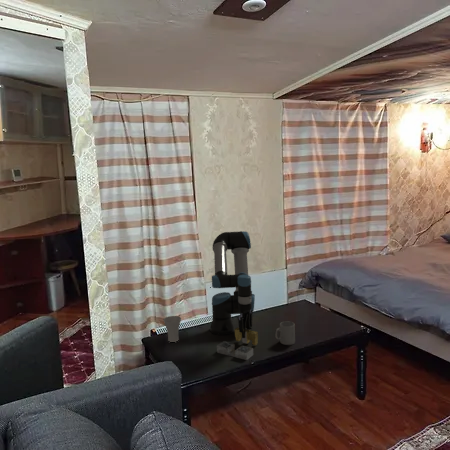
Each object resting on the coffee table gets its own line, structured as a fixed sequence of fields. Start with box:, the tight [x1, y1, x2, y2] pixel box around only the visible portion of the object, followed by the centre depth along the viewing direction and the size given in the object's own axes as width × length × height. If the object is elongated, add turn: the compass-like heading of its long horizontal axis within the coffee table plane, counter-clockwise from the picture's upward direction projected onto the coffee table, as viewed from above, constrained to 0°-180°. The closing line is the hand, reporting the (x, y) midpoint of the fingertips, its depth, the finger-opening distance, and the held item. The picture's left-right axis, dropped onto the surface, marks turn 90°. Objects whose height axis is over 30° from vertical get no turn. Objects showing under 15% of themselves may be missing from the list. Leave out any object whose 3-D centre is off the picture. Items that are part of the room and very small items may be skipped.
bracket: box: [216, 340, 254, 361], centre depth 226 cm, size 19×7×4 cm, turn 56°
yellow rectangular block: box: [234, 326, 259, 346], centre depth 237 cm, size 14×3×7 cm, turn 56°
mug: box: [274, 320, 296, 346], centre depth 237 cm, size 12×8×11 cm
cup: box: [162, 315, 182, 343], centre depth 245 cm, size 10×10×14 cm
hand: (246, 341), depth 237 cm, fingers closed on yellow rectangular block, 3 cm apart
